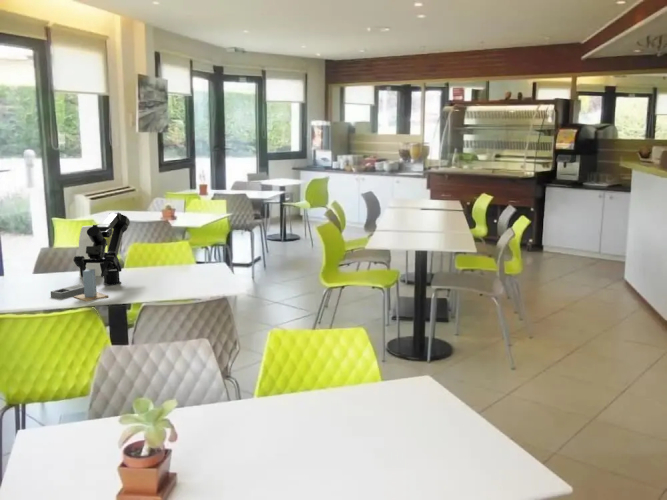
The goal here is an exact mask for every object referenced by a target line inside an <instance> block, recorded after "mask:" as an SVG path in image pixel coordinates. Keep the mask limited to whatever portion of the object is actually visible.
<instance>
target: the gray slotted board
mask: <svg viewBox="0 0 667 500" xmlns="http://www.w3.org/2000/svg"><path fill="white" fill-rule="evenodd" d="M82 294H84V282H83V283H79V284H78V283H77V284H73V285H70V286H67V287H62V288H58V289H55V290H51V291H50V297H51V298H55V299H61V300H63V299H66V298H69V297H73V296H77V295H82Z"/></svg>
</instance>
